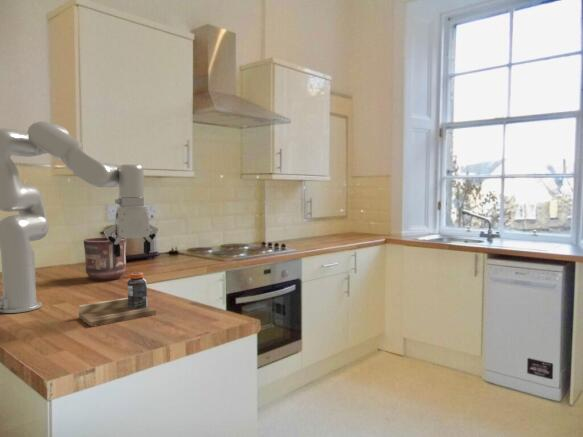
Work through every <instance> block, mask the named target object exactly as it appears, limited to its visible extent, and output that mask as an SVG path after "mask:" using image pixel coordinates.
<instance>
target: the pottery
mask: <svg viewBox="0 0 583 437" xmlns="http://www.w3.org/2000/svg"><path fill="white" fill-rule="evenodd" d="M112 237H113V238H115V236H112ZM127 239H128V238H122V239H121V240H120V242H119V245H120V257H116V256H115V254H113V244H112V242H110V241H109V240H108V239H107V237H106V236H103V237H93V238H92V237H91V238H85V239H83V247H84V257H85V259H84V260H85V262H84V263H85V264H84V265H85V273H86V275H87V276H88V278H89V279H90V280H92V281H94V282H108V281H109V282H110V281H115V280H119V279H120V278H122V277H123V275H124V273H125V271H126V269H127V268H126V267H127V260H126V259H127V258H126V253H127V252H126V251H127V250H126V247H127V241H128V240H127Z"/></svg>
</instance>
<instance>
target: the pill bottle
mask: <svg viewBox="0 0 583 437" xmlns="http://www.w3.org/2000/svg"><path fill="white" fill-rule="evenodd" d="M129 275H130V276H129V278H130V279H129V280H128V281H127V282H126V283H127V298H128V307H129V308H130V309H142V308H145V307H147V306H148V290H147V288H148V286H147V280H146V279H145V278H144V273H143V272H131V273H130V274H129Z"/></svg>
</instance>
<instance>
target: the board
mask: <svg viewBox="0 0 583 437" xmlns="http://www.w3.org/2000/svg"><path fill="white" fill-rule="evenodd" d="M155 315H157V310H156V308H155V309H154V308H153V307H151V306H149V305H147V307H145V308H142V309H130V308H129V307H128V297H124V298H117V299H112V300H104V301H100V302H99V301H97V302H92V303H86V304H81V305H80V304H79V305H78V318H79V320H81V319H82V320H83V321H82V320H81V321H82V322H83V323H85V322H86V323H87V324H88V325H87V324H86V323H85V324H86V325H87V326H89V325H90V326H94V327H96V326H95V325H99V326H104V325H109V324H114V322H115V323H119V321H120V322H124V321H130V320H134V319H140V318H145V317H150V316H155ZM108 323H109V324H108ZM103 324H104V325H103ZM90 326H89V327H90Z"/></svg>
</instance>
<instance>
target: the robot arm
mask: <svg viewBox="0 0 583 437" xmlns="http://www.w3.org/2000/svg"><path fill="white" fill-rule="evenodd" d="M45 154H49V155H50V156H52V157H54V158H55V159H57V160H58V161H60V162H62V163H63V164H64V165H65V167H67V169H68V170H69V171H70V173H72V174H74V175H75V176H76V177H78V178H79V179H81V180H82V181H84V182H86V183H87V184H90V185H91V186H94V187H98V188H104V187H105V188H116V187H118V191H119V192H118V198H117V199H114V203H115V204H116V205H118V206H117V209H116V213H115V218H114V219H115V221H114V225H112V226H110V227H108V228H107V229H105V230H104V231H103V233H104V235H105V237H107V239H108V240H109V241H110V242H112V244H113V254H115V256H116V257H120V245H119V242H120V240H121V239H122V238H127V239H138V238H140V239H141V238H142V239H143V240H144V242H143V254H146V255H150V252H151V243H152V241H153V239H154V238H155V237H156V235H157V233H158V231H159V228H158V227H155V226H153V225H152V224H150V218H149V212H148V208H147V207H146V206H145V198H144V197H145V194H144V192H145V191H144V190H145V188H144V186H145V185H144V184H145V183H144V179H145V178H144V176H145V174H144V167H143V166H142V165H140V164H121V165H120V164H116V163H115V164H113V163H106V162H100V161H98V160H96V159H94V157H92V156H90V155H88V154H87V153H86V152H84V150H83V144H82V142H80V140H77V139H75V138H74V137H73V136H71V135H70V132H69V131H68V130H67V129H66V128H65V127H64V126H63V125H60V124H56V123H53V122H47V121H36V122H34V123H32V124H30V126H29V127H28V129H27V131H23V130H17V129H12V128H3V127H1V128H0V211H2V212H5V213H6V212H8V213H9V212H10V213H12V212H18V214H15V215H10V216H6V217H4V218H2V219H1V220H0V259H1V260H0V261H1V262H0V264H1V274H2V276H1V277H2V278H1V281H2V295H1V296H0V313H2V314H17V313H25V312H30V311H34V310H37V309H39V308H41V307H42V306H43V304H42V302H41V301H39V300H37V287H36V286H37V285H36V284H37V283H36V265H35V264H36V263H35V262H36V261H35V254H34V250H33V248H32V245H31V243H30V242H34V241H40V240H42V239H43V238H45V237H46V236H47V235H48V232H49V220H48V217H47V211H46V208H45V203H44V199H43V196H42V193H41V192H40V190H39V189H38V188H37V186H34V185H32V184H30V183H22V181H21V179H20V174H19V169H18V167H17V165H16V164H15V162H14V160H12V158H11V156H15V157H17V156H18V157H26V158H27V157H28V158H29V157H31V158H32V157H36V156H41V155H45ZM150 231H151V232H150ZM113 232H114V235H115V236H112V235H111V234H112V233H113ZM113 237H115V238H113Z"/></svg>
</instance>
